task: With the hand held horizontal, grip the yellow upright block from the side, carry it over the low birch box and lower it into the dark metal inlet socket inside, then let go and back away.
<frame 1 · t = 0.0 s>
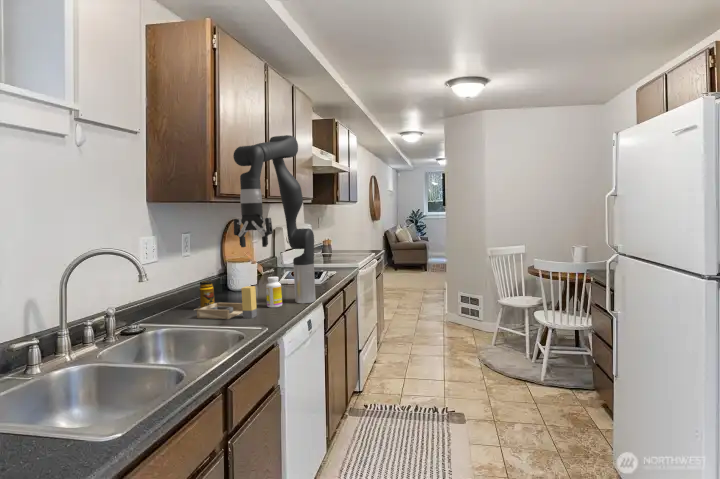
hand: (253, 247, 174), 29 cm above the worktop, tool pointing down, fingers open, 8 cm apart
supplement bottle: (274, 306, 212), on the worktop
condiment: (206, 308, 214), on the worktop
walled box: (222, 314, 199), on the worktop
yellow upright block: (250, 316, 193), on the worktop
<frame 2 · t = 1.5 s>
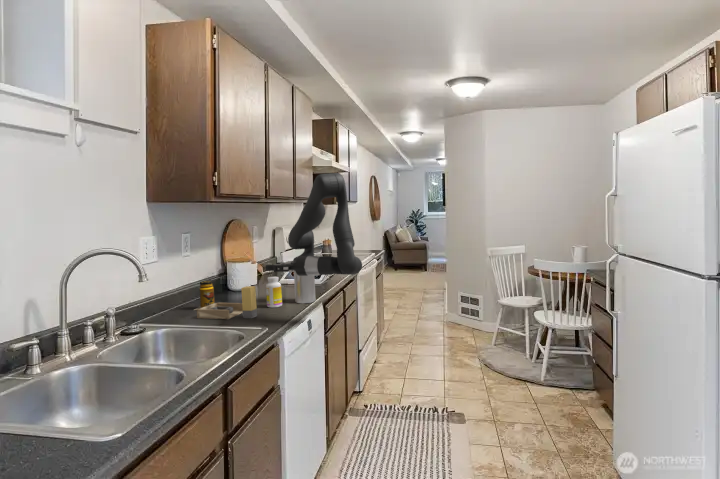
hand: (271, 266, 189), 20 cm above the worktop, tool horizontal, fingers open, 8 cm apart
nothing on the worktop moved.
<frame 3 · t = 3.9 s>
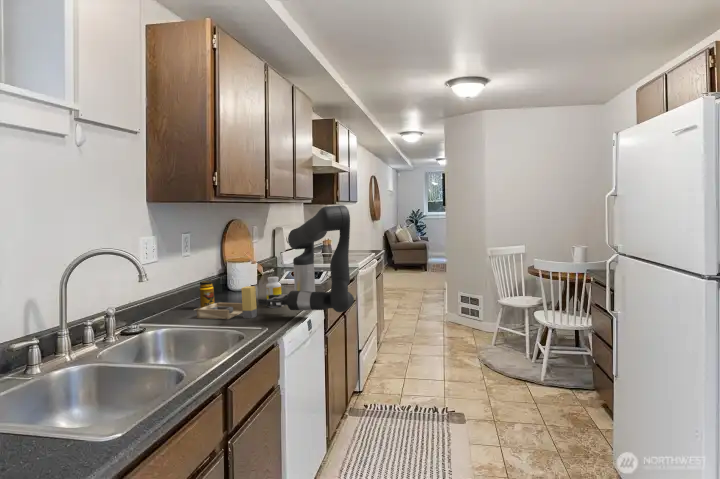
hand: (264, 299, 191), 7 cm above the worktop, tool horizontal, fingers open, 8 cm apart
nothing on the worktop moved.
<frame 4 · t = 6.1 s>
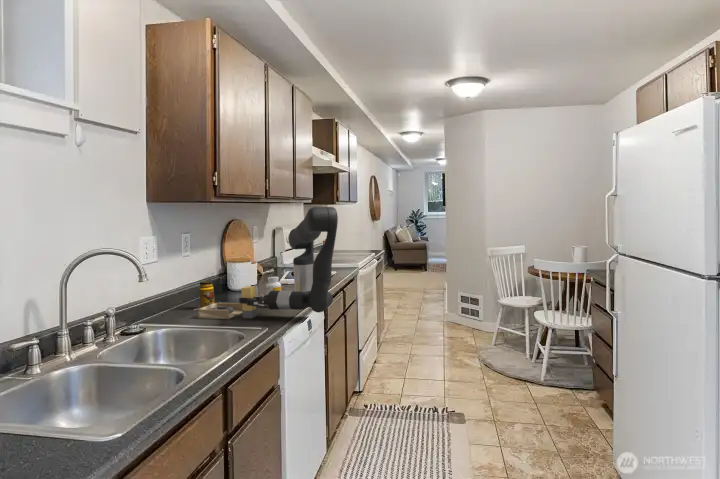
hand: (242, 299, 193), 7 cm above the worktop, tool horizontal, fingers closed on yellow upright block, 4 cm apart
yellow upright block: (250, 316, 193), on the worktop, touching gripper
everything else where it was.
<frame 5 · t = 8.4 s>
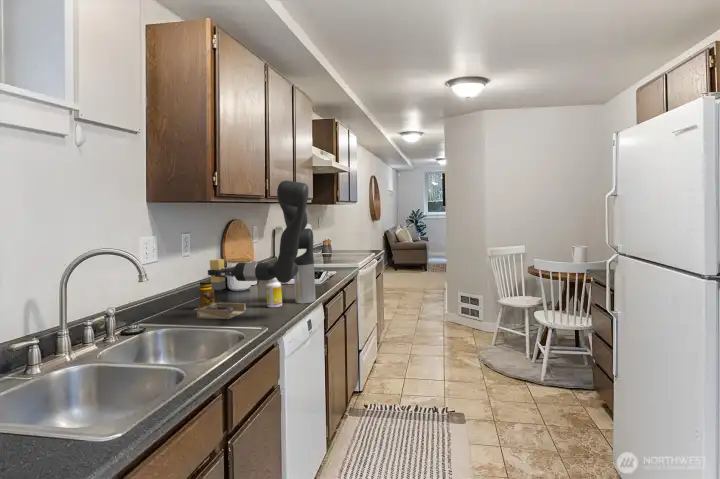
hand: (211, 271, 198), 18 cm above the worktop, tool horizontal, fingers closed on yellow upright block, 4 cm apart
yellow upright block: (218, 288, 198), point 11 cm above the worktop, touching gripper
everything else where it was.
when the fingers open (9 cm above the worktop, at t = 10.5 s): yellow upright block stays where it is, resting on walled box.
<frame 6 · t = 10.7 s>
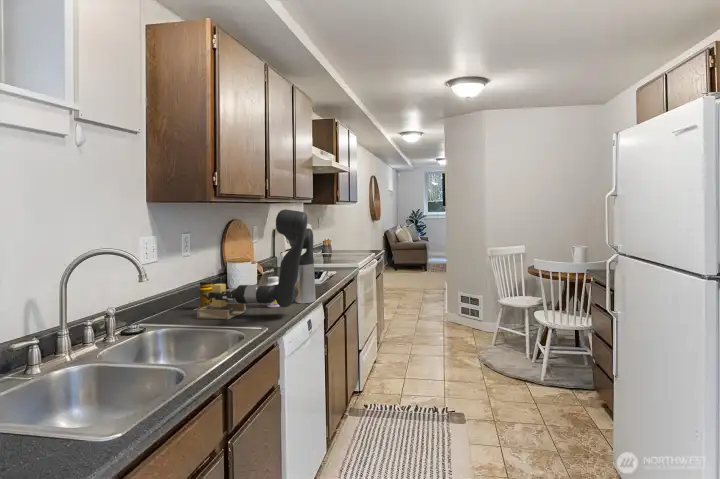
hand: (213, 293, 199), 9 cm above the worktop, tool horizontal, fingers open, 5 cm apart
yellow upright block: (219, 313, 199), point 1 cm above the worktop, touching walled box
everything else where it was.
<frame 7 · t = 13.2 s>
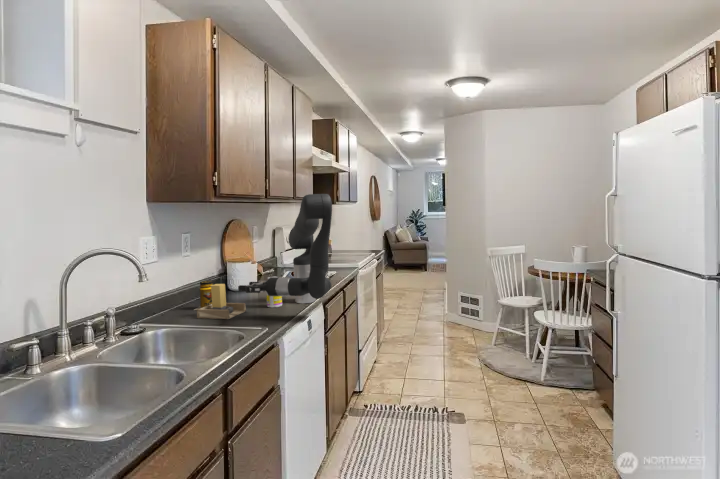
hand: (244, 286, 195), 12 cm above the worktop, tool horizontal, fingers open, 8 cm apart
nothing on the worktop moved.
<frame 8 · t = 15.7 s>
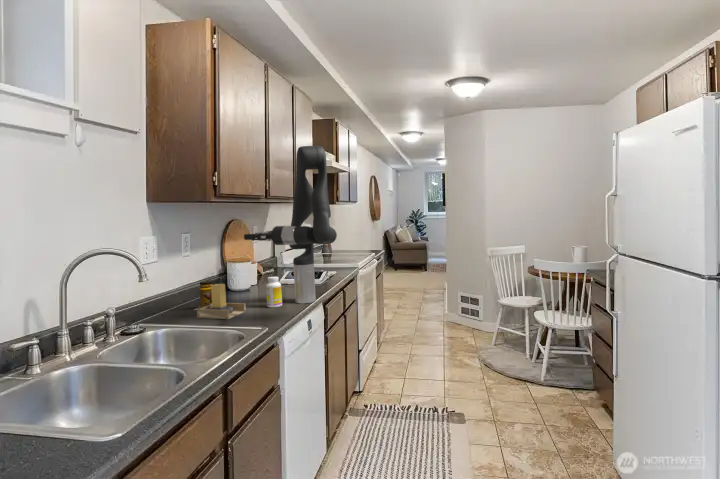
hand: (249, 236, 196), 32 cm above the worktop, tool horizontal, fingers open, 8 cm apart
nothing on the worktop moved.
at the end: yellow upright block 0.0 cm from the target spot on the walled box, point 0.5 cm above the walled box's base; yellow upright block tilted 0°; the gripper is holding nothing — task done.
